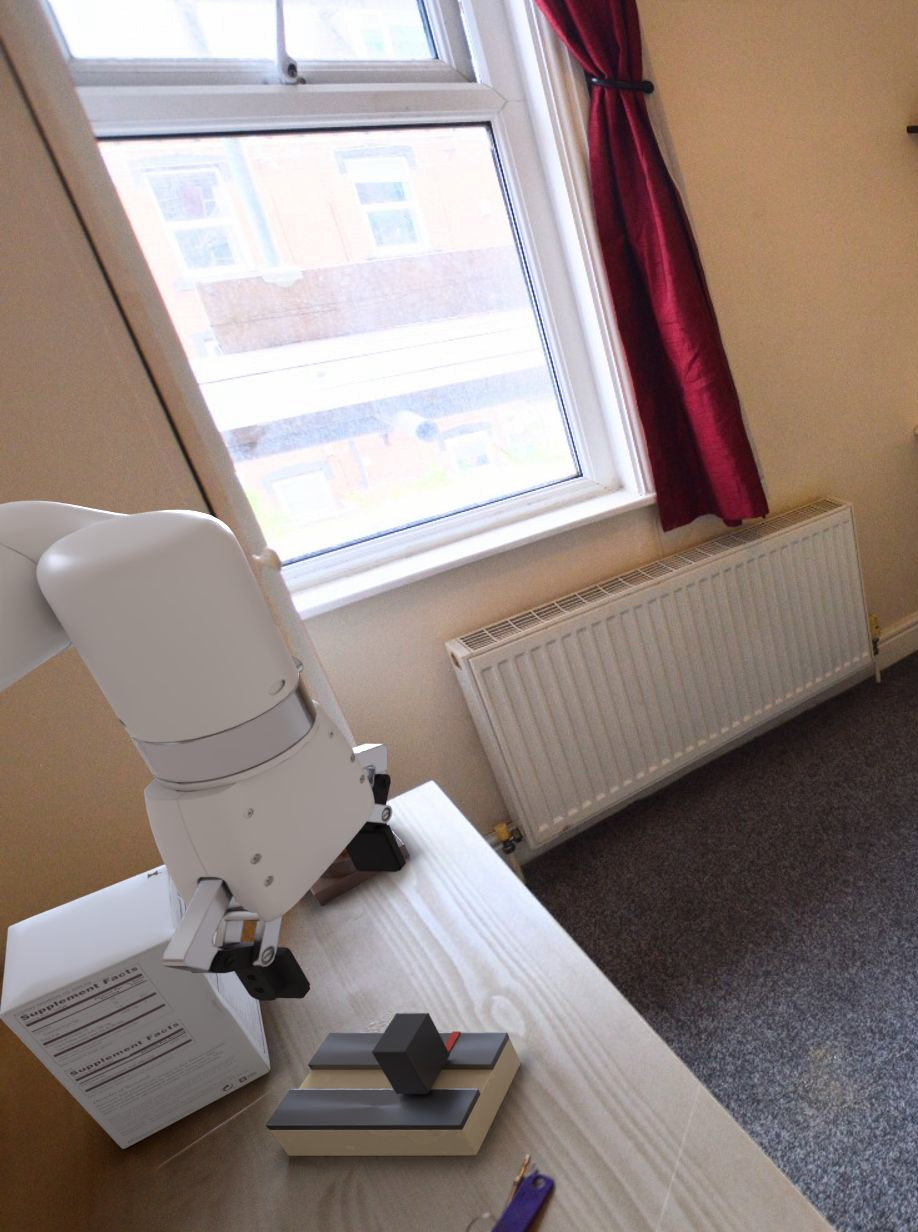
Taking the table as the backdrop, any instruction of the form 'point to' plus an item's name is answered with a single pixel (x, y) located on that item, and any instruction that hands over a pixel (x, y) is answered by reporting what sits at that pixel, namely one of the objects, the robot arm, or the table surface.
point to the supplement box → (128, 1009)
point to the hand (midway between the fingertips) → (336, 926)
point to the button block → (343, 877)
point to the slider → (411, 1053)
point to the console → (395, 1100)
